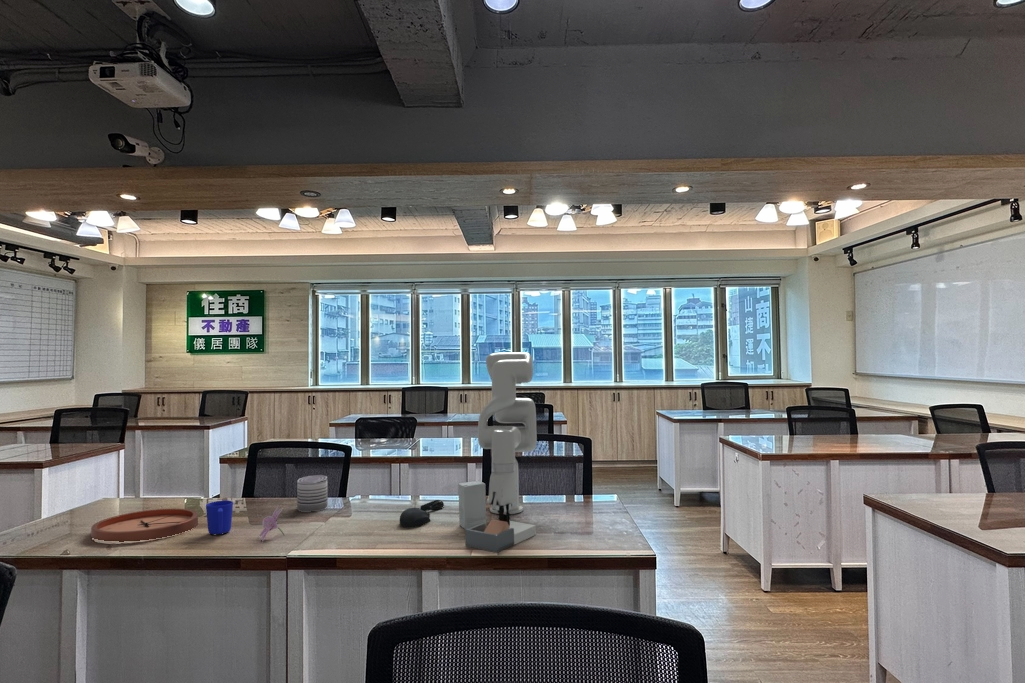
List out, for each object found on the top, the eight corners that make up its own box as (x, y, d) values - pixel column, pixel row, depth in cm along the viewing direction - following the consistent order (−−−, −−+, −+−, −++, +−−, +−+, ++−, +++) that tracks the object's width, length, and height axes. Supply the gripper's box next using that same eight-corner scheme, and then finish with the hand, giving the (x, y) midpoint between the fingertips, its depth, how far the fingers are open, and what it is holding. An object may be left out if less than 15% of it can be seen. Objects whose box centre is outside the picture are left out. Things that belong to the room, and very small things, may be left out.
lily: (266, 534, 202) (252, 513, 198) (298, 520, 203) (285, 498, 200) (260, 556, 191) (245, 533, 187) (295, 540, 192) (280, 517, 188)
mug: (206, 541, 192) (206, 510, 192) (205, 531, 203) (206, 502, 203) (234, 537, 196) (234, 506, 196) (232, 528, 206) (232, 499, 207)
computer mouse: (394, 528, 204) (394, 512, 205) (426, 505, 236) (426, 491, 236) (420, 530, 202) (420, 513, 203) (449, 506, 234) (449, 492, 234)
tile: (485, 539, 186) (482, 533, 185) (494, 524, 191) (491, 519, 189) (500, 542, 183) (498, 536, 182) (509, 527, 187) (507, 521, 186)
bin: (465, 546, 183) (465, 529, 183) (483, 538, 190) (483, 522, 191) (496, 552, 176) (496, 535, 176) (514, 544, 184) (513, 528, 184)
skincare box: (480, 522, 210) (479, 479, 210) (487, 526, 204) (486, 483, 205) (458, 525, 206) (457, 482, 206) (464, 529, 201) (463, 485, 201)
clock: (67, 529, 195) (149, 506, 225) (67, 541, 195) (149, 517, 225) (143, 535, 186) (218, 510, 217) (143, 548, 186) (218, 522, 216)
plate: (483, 538, 190) (483, 529, 191) (505, 529, 201) (505, 520, 201) (514, 544, 184) (514, 534, 184) (535, 534, 194) (535, 525, 194)
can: (333, 507, 235) (333, 476, 235) (310, 513, 225) (310, 481, 225) (314, 503, 241) (314, 474, 241) (290, 509, 231) (290, 478, 232)
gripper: (507, 463, 199) (508, 518, 198) (480, 470, 186) (480, 529, 186) (526, 465, 194) (526, 522, 194) (499, 472, 182) (500, 533, 181)
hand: (504, 525), depth 190 cm, fingers closed
